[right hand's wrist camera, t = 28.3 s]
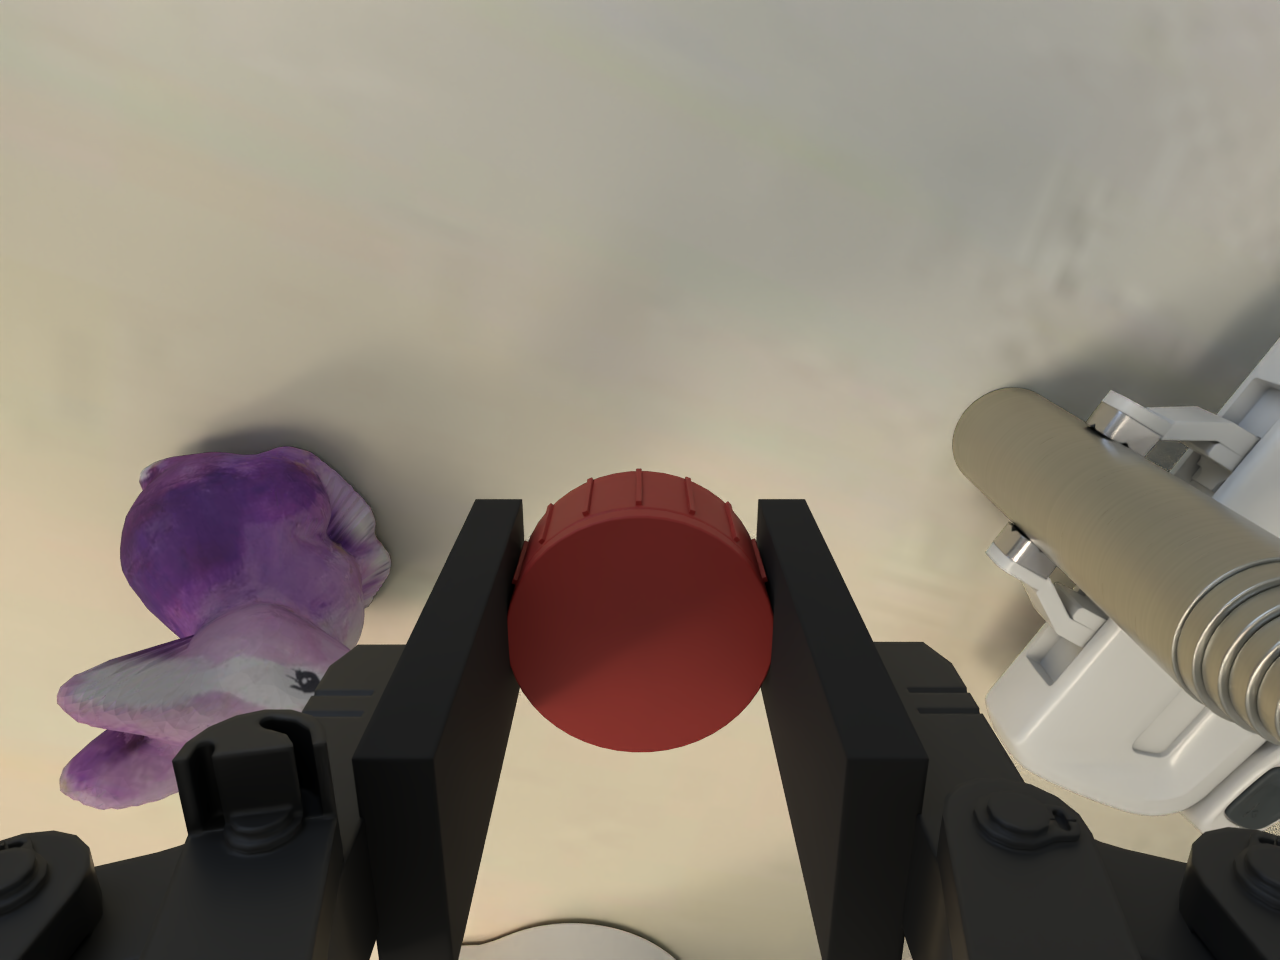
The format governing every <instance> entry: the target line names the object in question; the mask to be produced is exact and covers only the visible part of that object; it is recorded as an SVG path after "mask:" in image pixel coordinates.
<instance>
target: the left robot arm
mask: <svg viewBox="0 0 1280 960" xmlns="http://www.w3.org/2000/svg"><path fill="white" fill-rule="evenodd" d="M1085 424H1087V425H1089V426H1090V427H1092V428H1094V429H1095V430H1097V431H1099V432H1100V433H1102V434H1104V435H1105V436H1107V437H1109V438H1110V439H1112V440H1114V441H1116V442H1118V443H1120V444H1123V445H1124V446H1126V447H1128V448H1129V449H1131V450H1133V451H1134V452H1136V453H1138V454H1139V455H1141V456H1143V457H1145V456H1146V455H1147V453H1148V452H1149V451H1150V450H1151V449H1152V448H1153V446H1154V445H1155V444H1156V443H1157V442H1158V441H1159V440H1173V441H1179V442H1180V443H1182V444H1184V445H1185V446H1187V447H1188V449H1187V451H1186V452H1185V453H1184V454H1183V456H1182V457H1181V458H1180V459H1179V461H1178V462H1177V463H1176V464H1175V465H1174V467H1173V468H1172V469H1171V470H1170V471H1169V472H1170V473H1171V474H1173V475H1175V476H1176V477H1178V478H1180V479H1181V480H1183V481H1185V482H1186V483H1188V484H1190V485H1191V486H1193V487H1195V488H1196V489H1198V490H1200V491H1201V492H1203V493H1205V494H1206V495H1208V496H1210V497H1211V498H1213V499H1215V500H1216V501H1218V502H1220V503H1221V504H1223V505H1225V506H1226V507H1228V508H1230V509H1231V510H1233V511H1235V512H1236V513H1238V514H1240V515H1241V516H1243V517H1245V518H1246V519H1248V520H1250V521H1251V522H1253V523H1255V524H1256V525H1258V526H1260V527H1261V528H1263V529H1265V530H1267V531H1268V532H1270V533H1272V534H1273V535H1275V536H1277V537H1278V538H1280V338H1279V339H1278V340H1277V341H1276V342H1275V344H1274V345H1273V346H1272V347H1271V348H1270V350H1269V351H1268V352H1267V353H1266V355H1265V356H1264V357H1263V358H1262V359H1261V361H1260V362H1259V363H1258V364H1257V366H1256V367H1255V368H1254V369H1253V370H1252V372H1251V373H1250V374H1249V375H1248V377H1247V378H1246V379H1245V380H1244V381H1243V383H1242V384H1241V385H1240V386H1239V387H1238V389H1237V390H1236V391H1235V392H1234V394H1233V395H1232V396H1231V397H1230V398H1229V400H1228V401H1227V402H1226V403H1225V404H1224V406H1223V407H1222V408H1221V409H1220V411H1219V412H1218V413H1217V414H1213V413H1211V412H1209V411H1207V410H1205V409H1202V408H1200V407H1198V406H1180V407H1147V408H1144V407H1143V406H1141V405H1140V404H1138V403H1136V402H1134V401H1132V400H1130V399H1128V398H1127V397H1125V396H1123V395H1121V394H1119V393H1117V392H1115V391H1112V390H1110V391H1109V393H1108V394H1107V395H1106V396H1105V398H1104V399H1103V400H1102V402H1101V403H1100V404H1099V406H1098V407H1097V408H1096V409H1095V411H1094V412H1093V413H1092V415H1091V416H1090V417H1089V419H1088V420H1087V421H1086V422H1085ZM986 554H987V555H988V556H989V557H990V558H991V560H992V561H993V562H994V563H995V564H996V565H997V566H998V567H1000V568H1001V569H1002V570H1004V571H1005V572H1006V573H1008V574H1009V575H1011V576H1013V577H1015V578H1017V579H1019V580H1020V581H1021V582H1022V584H1023V586H1024V588H1025V590H1026V592H1027V595H1028V597H1029V599H1030V601H1031V603H1032V605H1033V607H1034V608H1035V610H1036V611H1037V612H1038V613H1039V614H1040V615H1041V616H1042V618H1043V619H1044V620H1045V621H1046V622H1045V623H1044V625H1043V626H1042V627H1041V628H1040V630H1039V631H1038V632H1037V633H1036V634H1035V636H1034V637H1033V638H1032V639H1031V640H1030V642H1029V643H1028V644H1027V645H1026V647H1025V648H1024V649H1023V650H1022V651H1021V653H1020V654H1019V655H1018V656H1017V657H1016V659H1015V660H1014V661H1013V662H1012V664H1011V665H1010V666H1009V667H1008V668H1007V670H1006V671H1005V672H1004V673H1003V674H1002V676H1001V677H1000V678H999V679H998V680H997V682H996V683H995V684H994V685H993V686H992V688H991V689H990V690H989V691H988V693H987V695H986V698H985V703H986V707H987V711H988V714H989V717H990V720H991V723H992V726H993V728H994V730H995V732H996V733H997V735H998V737H999V739H1000V740H1001V742H1002V743H1003V745H1004V746H1005V748H1006V749H1007V750H1008V752H1009V753H1010V754H1011V756H1012V757H1013V758H1014V759H1015V760H1016V761H1017V762H1018V763H1019V764H1020V765H1021V766H1022V767H1024V768H1025V769H1026V770H1028V771H1030V772H1031V773H1033V774H1035V775H1037V776H1039V777H1040V778H1042V779H1044V780H1047V781H1049V782H1051V783H1053V784H1055V785H1057V786H1059V787H1062V788H1064V789H1066V790H1068V791H1071V792H1073V793H1075V794H1078V795H1080V796H1083V797H1085V798H1088V799H1091V800H1093V801H1096V802H1098V803H1101V804H1104V805H1107V806H1110V807H1112V808H1115V809H1118V810H1121V811H1125V812H1129V813H1132V814H1138V815H1144V816H1164V815H1170V814H1174V813H1177V812H1179V813H1180V814H1181V815H1182V816H1183V817H1184V818H1185V819H1187V820H1188V821H1189V822H1190V823H1191V824H1192V825H1193V826H1194V827H1195V828H1196V829H1197V830H1199V831H1200V832H1201V833H1202V834H1203V833H1204V832H1206V831H1211V830H1216V829H1220V828H1225V827H1234V828H1244V829H1254V830H1260V831H1264V830H1266V829H1268V828H1269V827H1271V826H1273V825H1274V824H1276V823H1278V822H1280V746H1277V745H1275V744H1273V743H1271V742H1268V741H1267V740H1265V739H1264V738H1262V737H1261V736H1260V735H1258V734H1254V733H1251V732H1249V731H1247V730H1245V729H1243V728H1241V727H1240V726H1238V725H1237V724H1235V723H1233V722H1229V721H1227V720H1225V719H1223V718H1221V717H1219V716H1217V715H1216V714H1214V713H1213V712H1212V711H1210V710H1209V709H1208V708H1207V707H1206V706H1205V705H1203V704H1201V703H1199V702H1198V701H1196V700H1195V699H1193V698H1192V697H1191V696H1190V695H1188V694H1187V693H1186V692H1185V691H1184V690H1183V689H1182V688H1181V687H1180V686H1179V685H1178V684H1177V683H1176V682H1175V681H1174V680H1173V679H1172V678H1171V677H1170V676H1169V675H1168V674H1167V673H1166V672H1165V671H1164V670H1163V669H1162V668H1161V667H1160V666H1159V665H1158V664H1157V663H1156V662H1155V661H1154V660H1153V659H1151V658H1150V657H1149V656H1148V655H1147V654H1146V653H1145V652H1144V651H1143V650H1142V649H1141V648H1140V647H1139V646H1138V645H1137V644H1136V643H1135V642H1134V641H1133V640H1132V639H1131V638H1130V637H1129V636H1128V635H1127V634H1126V633H1125V632H1124V631H1123V630H1122V629H1121V628H1120V627H1119V626H1118V625H1117V624H1116V623H1115V622H1114V621H1113V620H1112V619H1111V618H1110V617H1109V616H1108V615H1107V614H1106V613H1105V612H1104V611H1102V610H1101V609H1100V608H1099V607H1098V606H1097V605H1096V604H1095V603H1094V602H1093V601H1092V600H1091V599H1090V598H1089V597H1088V596H1087V595H1086V594H1085V593H1084V592H1083V591H1082V590H1081V589H1080V588H1079V587H1078V586H1077V585H1076V586H1075V587H1074V588H1073V589H1070V588H1068V587H1066V586H1064V585H1062V584H1060V583H1059V582H1056V583H1054V584H1053V583H1052V581H1051V579H1050V577H1049V576H1050V574H1051V573H1052V572H1053V570H1054V569H1055V568H1056V566H1057V565H1056V564H1055V563H1053V562H1052V561H1051V560H1050V559H1049V558H1048V557H1047V556H1046V555H1045V554H1044V553H1043V552H1042V551H1041V550H1040V549H1039V548H1038V547H1037V546H1036V545H1035V544H1034V543H1033V542H1032V541H1031V540H1030V539H1029V538H1028V537H1027V536H1026V535H1025V534H1024V533H1023V532H1022V531H1021V530H1020V529H1019V528H1018V527H1017V526H1016V525H1015V524H1013V523H1011V522H1008V523H1007V525H1006V526H1005V527H1004V528H1003V530H1002V531H1001V532H1000V533H999V535H998V536H997V537H996V538H995V540H994V541H993V543H992V544H991V545H990V546H989V548H988V549H987V550H986ZM458 960H676V959H675V958H673V957H672V956H671V955H670V954H669V953H667V952H666V951H664V950H663V949H662V948H660V947H658V946H657V945H655V944H653V943H652V942H650V941H648V940H646V939H644V938H641V937H639V936H637V935H634V934H632V933H629V932H626V931H623V930H619V929H615V928H612V927H607V926H601V925H594V924H584V923H560V924H549V925H543V926H537V927H532V928H529V929H525V930H521V931H518V932H515V933H513V934H510V935H507V936H505V937H502V938H500V939H497V940H495V941H492V942H489V943H485V944H481V945H464V946H461V950H460V955H459V959H458Z"/></svg>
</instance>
